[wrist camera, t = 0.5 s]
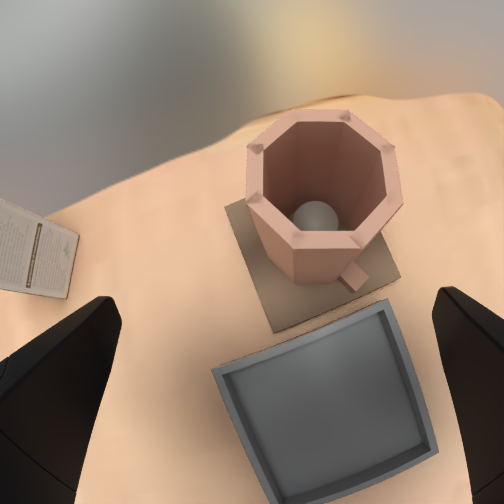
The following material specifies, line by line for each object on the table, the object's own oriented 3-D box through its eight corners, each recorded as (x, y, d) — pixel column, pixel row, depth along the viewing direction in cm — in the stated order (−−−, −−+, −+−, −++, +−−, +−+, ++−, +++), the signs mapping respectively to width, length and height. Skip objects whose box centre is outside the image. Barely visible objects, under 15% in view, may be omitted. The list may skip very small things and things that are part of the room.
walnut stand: (396, 279, 20) (423, 266, 16) (274, 332, 21) (267, 335, 16) (341, 166, 23) (350, 129, 18) (227, 211, 23) (209, 183, 18)
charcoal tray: (427, 441, 18) (439, 452, 15) (278, 501, 18) (276, 516, 16) (378, 300, 20) (387, 298, 18) (219, 365, 21) (211, 370, 19)
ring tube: (250, 241, 21) (213, 174, 12) (310, 183, 22) (316, 87, 12) (328, 318, 20) (358, 314, 10) (387, 255, 20) (453, 200, 10)
